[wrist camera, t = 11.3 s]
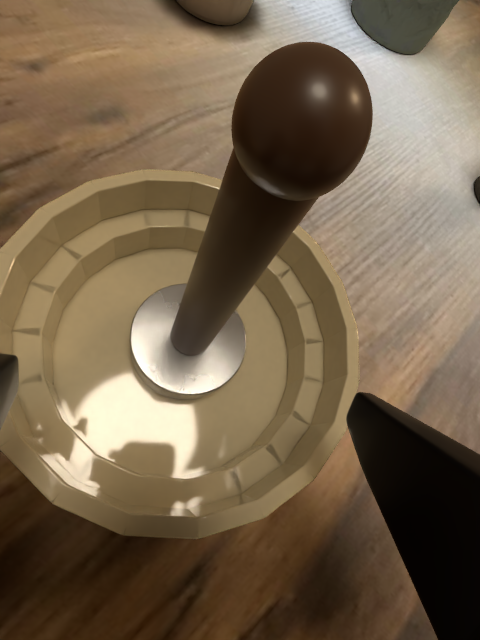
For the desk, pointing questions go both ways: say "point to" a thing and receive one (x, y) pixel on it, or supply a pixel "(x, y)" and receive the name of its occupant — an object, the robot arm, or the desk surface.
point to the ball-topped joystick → (254, 212)
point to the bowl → (134, 395)
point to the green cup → (402, 21)
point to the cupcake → (218, 10)
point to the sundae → (477, 188)
